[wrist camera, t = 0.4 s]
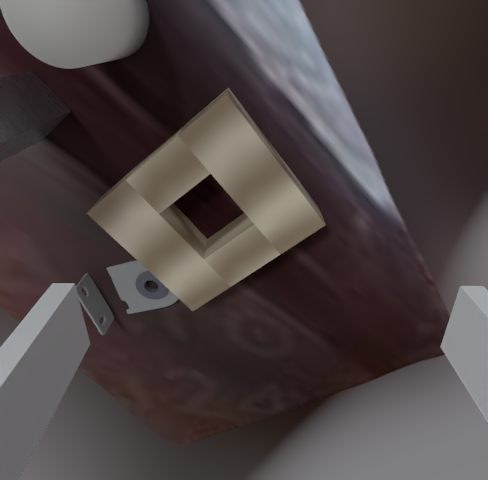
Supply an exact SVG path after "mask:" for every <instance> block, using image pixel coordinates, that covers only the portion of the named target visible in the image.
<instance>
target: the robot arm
mask: <svg viewBox="0 0 488 480" xmlns="http://www.w3.org/2000/svg"><path fill="white" fill-rule="evenodd" d="M89 345H90V341H89V337H88V333H87V329H86V325H85V322H84V318H83V314H82V310H81V306H80V302H79V298H78V294H77V290H76V287H75V283H52V284H51V286H50V287H49V288H48V289H47V291H46V292H45V293H44V294H43V296H42V297H41V298H40V299H39V301H38V302H37V303H36V304H35V305H34V307H33V308H32V309H31V310H30V312H29V313H28V314H27V315H26V317H25V318H24V319H23V320H22V322H21V323H20V324H19V325H18V327H17V328H16V329H15V330H14V331H13V333H12V334H11V335H10V336H9V338H8V339H7V340H6V341H5V343H4V344H3V345H2V346H1V347H0V480H19V479H20V477H21V475H22V473H23V471H24V469H25V468H26V466H27V464H28V462H29V460H30V458H31V456H32V454H33V452H34V450H35V448H36V447H37V445H38V443H39V441H40V439H41V437H42V435H43V433H44V431H45V429H46V427H47V426H48V423H49V422H50V420H51V418H52V416H53V414H54V412H55V410H56V408H57V406H58V405H59V403H60V401H61V399H62V397H63V395H64V393H65V391H66V389H67V387H68V385H69V383H70V382H71V380H72V378H73V376H74V374H75V372H76V370H77V368H78V366H79V364H80V363H81V361H82V359H83V357H84V355H85V353H86V351H87V349H88V347H89ZM441 349H442V350H443V352H444V353H445V355H446V357H447V358H448V360H449V362H450V363H451V364H452V366H453V368H454V370H455V371H456V373H457V374H458V376H459V378H460V379H461V381H462V382H463V384H464V385H465V387H466V389H467V390H468V392H469V394H470V395H471V397H472V399H473V400H474V402H475V403H476V405H477V407H478V408H479V410H480V411H481V413H482V415H483V416H484V418H485V419H486V421H487V423H488V291H487V290H486V289H485V288H484V286H460V288H459V291H458V295H457V298H456V301H455V304H454V307H453V310H452V313H451V316H450V319H449V322H448V325H447V328H446V331H445V334H444V337H443V341H442V344H441Z"/></svg>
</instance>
